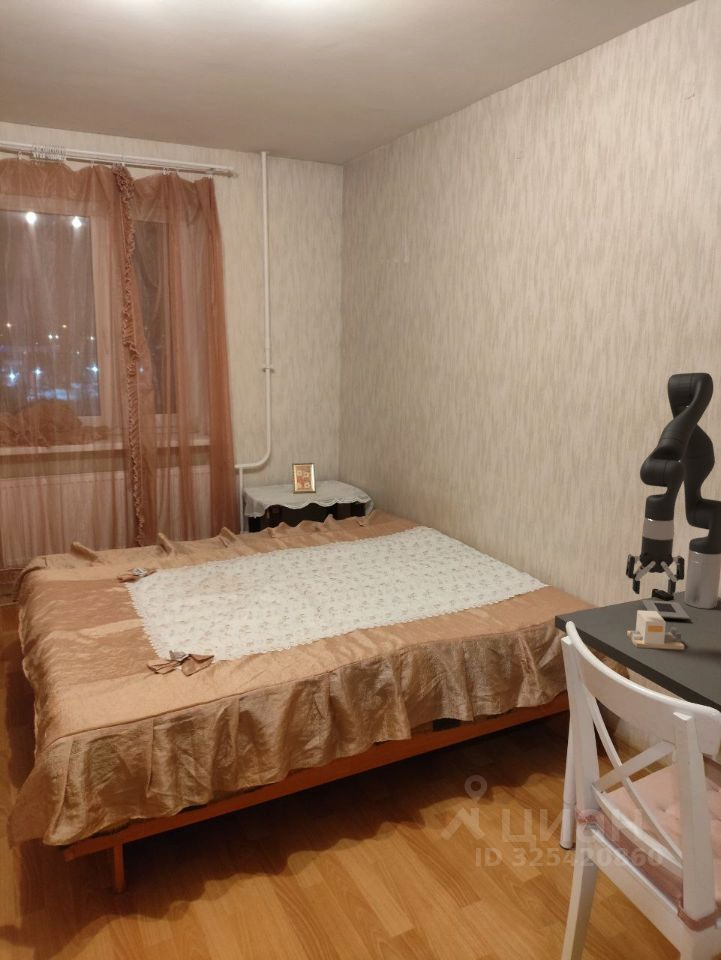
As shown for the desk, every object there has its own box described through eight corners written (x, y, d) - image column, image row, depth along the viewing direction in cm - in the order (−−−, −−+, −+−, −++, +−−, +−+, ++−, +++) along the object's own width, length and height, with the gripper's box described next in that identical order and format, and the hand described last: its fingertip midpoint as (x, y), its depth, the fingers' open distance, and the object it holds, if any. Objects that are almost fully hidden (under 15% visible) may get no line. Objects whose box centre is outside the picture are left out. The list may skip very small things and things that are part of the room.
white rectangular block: (664, 644, 178) (666, 622, 177) (644, 643, 179) (646, 621, 178) (654, 632, 186) (656, 611, 185) (635, 631, 187) (637, 610, 186)
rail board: (627, 634, 188) (628, 622, 187) (672, 636, 186) (673, 624, 186) (636, 647, 179) (637, 635, 178) (684, 649, 178) (685, 637, 177)
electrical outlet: (688, 624, 196) (689, 616, 195) (650, 621, 198) (650, 613, 198) (677, 608, 208) (678, 601, 208) (641, 606, 211) (641, 598, 210)
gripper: (680, 532, 181) (676, 590, 183) (625, 530, 182) (621, 588, 185) (691, 539, 173) (686, 599, 176) (633, 537, 175) (629, 597, 178)
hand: (653, 593), depth 180 cm, fingers open, 8 cm apart
